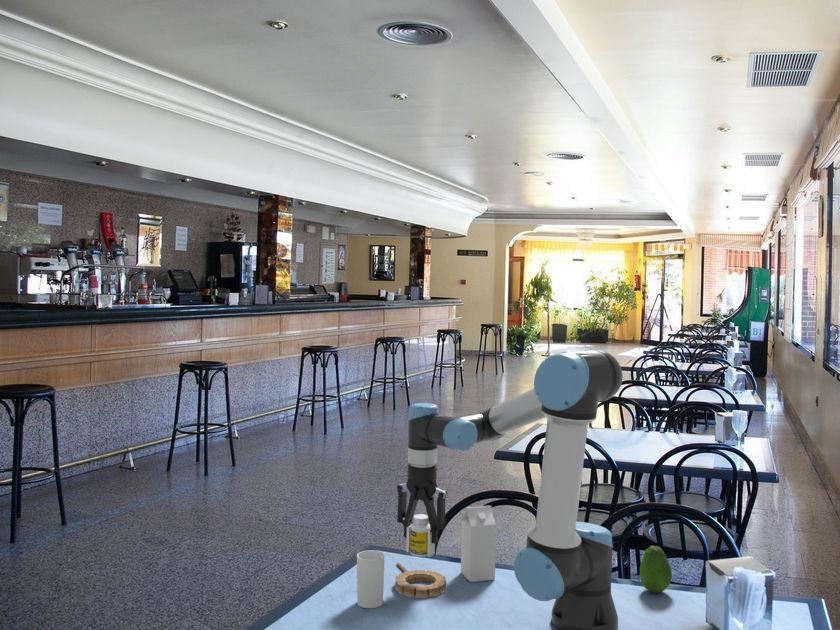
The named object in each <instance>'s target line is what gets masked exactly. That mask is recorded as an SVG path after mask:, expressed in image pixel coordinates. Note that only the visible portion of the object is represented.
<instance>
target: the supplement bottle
mask: <svg viewBox="0 0 840 630" xmlns="http://www.w3.org/2000/svg"><path fill="white" fill-rule="evenodd" d="M411 524H412V525H411V530H410V552H409V553H410V555H411V556H414V557H417V558H418V557H419V558H424V557H428V556H427V549H428V531H429V530H431V528H430V524H429V519H428V515H427V514H422V513H421V514H419V513H418V514H414V516H413V519H412V523H411Z"/></svg>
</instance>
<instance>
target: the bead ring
mask: <svg viewBox="0 0 840 630" xmlns="http://www.w3.org/2000/svg"><path fill="white" fill-rule="evenodd" d="M413 582H427V583H431V584H428V585H416V584H412V583H413ZM410 583H411V584H410ZM394 584H395V586H394V588H395V591H396V592H398V593H399V594H401V595H403V596H407V597H411V598H417V599H418V598H422V599H423V598H426V599H427V598H431V597H437V596H439V595H442V594H443V593H444V592H445V591H446V590H447V580H446V577H445V575H442V574H441V573H440V572H436V571H432V570H429V569H428V570H425V569H414V570H413V569H411V570H407V572H403V571H402V572H400V574H398V575H396V576H395V583H394Z"/></svg>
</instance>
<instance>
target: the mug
mask: <svg viewBox="0 0 840 630" xmlns="http://www.w3.org/2000/svg"><path fill="white" fill-rule="evenodd" d="M384 577H385V553H384V552H383V551H381V550H374V549H372V550H369V549H368V550H363V551H360V552H358V553H357V554H356V595H357V596H356V600H357V601H356V603H357V605H358V606H359V607H361V608H365V609H376V608H380V607H381V606H382V605H383V602H384V587H385V585H384V584H385V580H384Z"/></svg>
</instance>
